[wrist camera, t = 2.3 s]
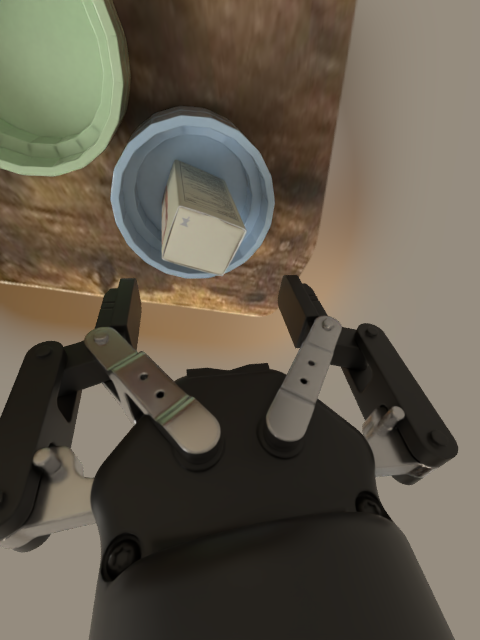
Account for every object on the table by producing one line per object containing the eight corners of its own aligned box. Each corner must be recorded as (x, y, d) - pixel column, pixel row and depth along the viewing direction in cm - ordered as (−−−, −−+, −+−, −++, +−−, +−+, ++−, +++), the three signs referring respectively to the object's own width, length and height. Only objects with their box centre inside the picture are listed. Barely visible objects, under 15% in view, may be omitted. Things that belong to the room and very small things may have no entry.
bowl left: (-34, 152, 22) (-73, 171, 19) (-191, -167, 13) (-324, -246, 10) (142, 161, 25) (137, 180, 21) (109, -102, 16) (90, -146, 12)
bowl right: (132, 253, 30) (127, 280, 27) (104, 98, 21) (90, 107, 18) (252, 252, 33) (262, 276, 29) (271, 113, 24) (288, 124, 20)
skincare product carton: (160, 204, 27) (156, 259, 20) (174, 156, 25) (175, 200, 17) (210, 223, 29) (223, 279, 22) (228, 181, 27) (249, 229, 20)
